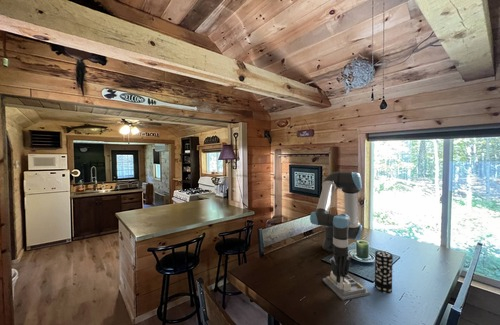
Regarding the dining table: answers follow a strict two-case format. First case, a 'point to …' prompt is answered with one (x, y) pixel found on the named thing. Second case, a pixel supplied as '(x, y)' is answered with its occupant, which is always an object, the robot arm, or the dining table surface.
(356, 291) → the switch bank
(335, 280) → the tab
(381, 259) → the spotted tube
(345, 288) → the tab
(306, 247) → the dining table surface
